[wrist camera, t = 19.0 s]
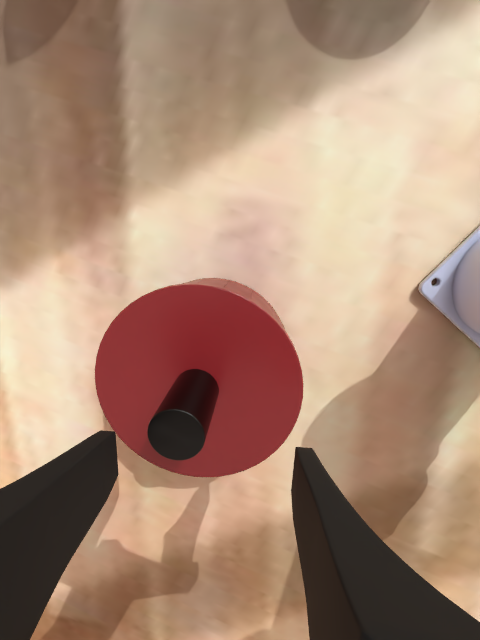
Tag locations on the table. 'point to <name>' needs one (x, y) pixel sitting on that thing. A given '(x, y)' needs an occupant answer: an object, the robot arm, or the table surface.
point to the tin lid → (199, 380)
